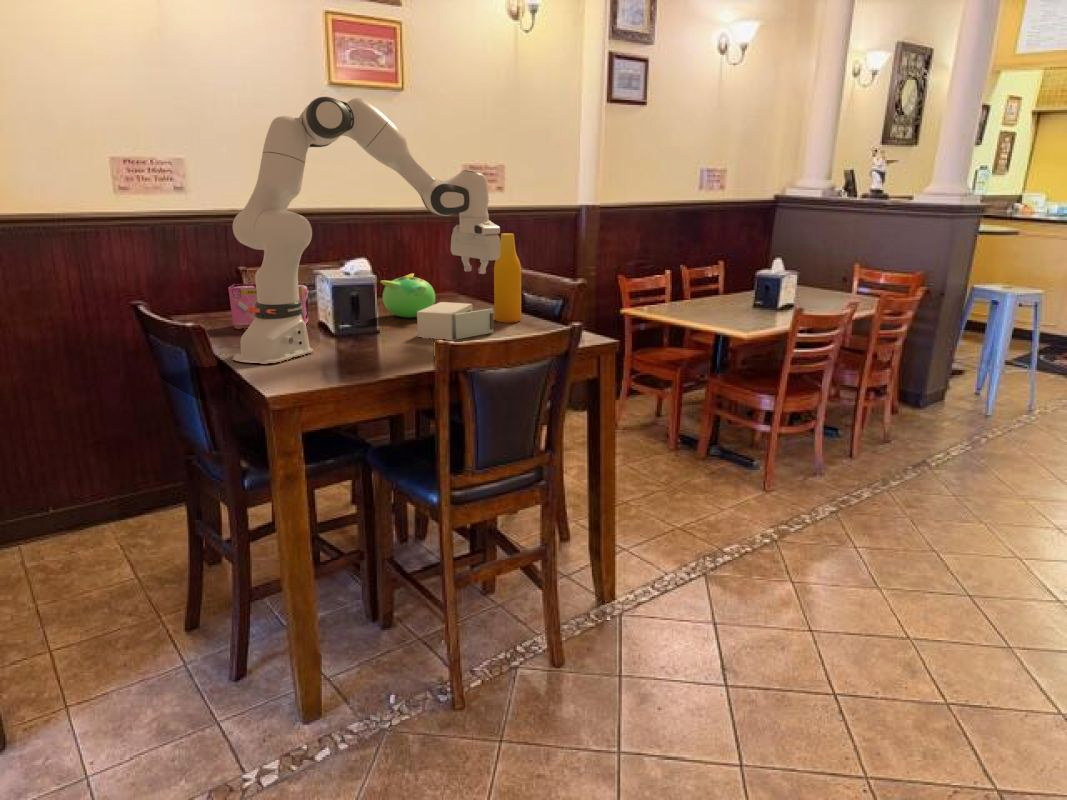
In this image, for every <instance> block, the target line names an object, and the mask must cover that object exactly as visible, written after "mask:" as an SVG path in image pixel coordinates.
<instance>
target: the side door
mask: <svg viewBox="0 0 1067 800" xmlns="http://www.w3.org/2000/svg"><path fill="white" fill-rule="evenodd" d="M494 321H495V320H494V308H486V309H479V310H473V311H472V312H465V313H459V314H452V340H454V341H455V340H459V339H465V338H470V337H476V336H481V335H482V336H483V335H487V334H493V333H494V324H495V323H494Z"/></svg>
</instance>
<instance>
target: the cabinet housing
mask: <svg viewBox="0 0 1067 800" xmlns="http://www.w3.org/2000/svg"><path fill="white" fill-rule="evenodd" d="M473 308H474V307H473V303H463V302H448V301H440V302H437V303H434V305H432V306H430V307H427V308H425V309H423V310H420V311H418V312H417V317H416V320H417V321H416V323H417V338H418V337H422V338H421V339H429V338H431V340H432V338H434V339H433V340H435V339H436V340H442V339H446V340H445V341H452V340H453V339H452V314H459V313H465V312H472V311H474V310H473Z"/></svg>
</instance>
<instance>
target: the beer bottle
mask: <svg viewBox="0 0 1067 800" xmlns="http://www.w3.org/2000/svg"><path fill="white" fill-rule="evenodd" d="M515 241H516V240H515V234H514V233H500V257H499V259H498V260H494V261H495V262H494V266H493V286H494V287H493V295H494V297H493V299H494V300H493V306H494V308H493V319H494V321H496V322H497V321H498V322H497V323H501V322H504V324H512V323H518V321H519V322H520V321H521V320H522V265H521V262H520V259H519V257H518V255H517V251H516V244H515Z"/></svg>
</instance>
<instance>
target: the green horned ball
mask: <svg viewBox="0 0 1067 800" xmlns="http://www.w3.org/2000/svg"><path fill="white" fill-rule="evenodd" d="M379 283H380V284H382V285H383V286H384V289H383V291H382V303H383V305H384V307H385V308H386V309H387V311H389V312H390V313H391V314H393V315H394V316H398V317H400V318H405V319H406V318H408V319H409V318H410V319H411V318H417V312H418V311H420V310H423V309H425V308H427V307H430V306H432V305H435V304H436V293H435V290H434V288H433V286H432V284H430V283H429V282H428V281H426V280H425V279H423V278H419V277H415V273H409V274H407V275H404V276H402V277H397V278H394V279H393V280H385V279H384V280H382V279H381V280H380V281H379Z"/></svg>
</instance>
